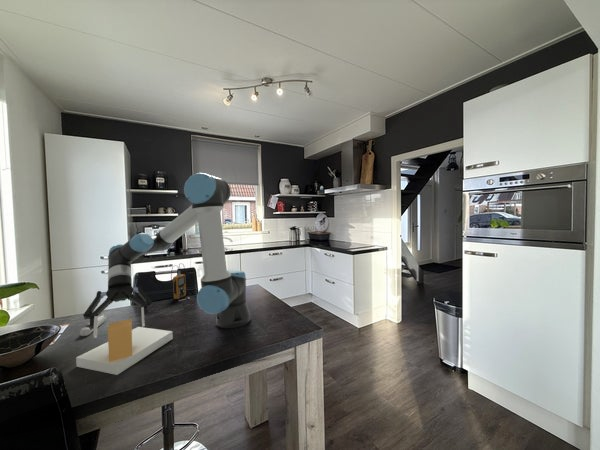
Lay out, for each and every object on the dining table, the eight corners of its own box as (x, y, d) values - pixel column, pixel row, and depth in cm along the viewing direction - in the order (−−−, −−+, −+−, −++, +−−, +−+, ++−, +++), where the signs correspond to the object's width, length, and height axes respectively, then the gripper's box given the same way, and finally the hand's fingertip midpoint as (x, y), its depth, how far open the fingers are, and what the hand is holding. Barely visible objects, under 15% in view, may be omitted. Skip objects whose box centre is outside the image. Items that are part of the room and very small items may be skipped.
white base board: (172, 338, 94) (172, 317, 94) (117, 374, 73) (115, 347, 73) (138, 333, 99) (137, 313, 98) (76, 366, 77) (75, 340, 77)
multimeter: (184, 302, 134) (183, 267, 134) (168, 301, 136) (167, 266, 136) (200, 294, 149) (199, 262, 148) (186, 293, 151) (185, 261, 150)
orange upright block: (132, 347, 83) (131, 318, 83) (132, 355, 78) (131, 325, 78) (110, 352, 80) (109, 323, 79) (109, 361, 75) (107, 330, 74)
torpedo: (90, 336, 97) (90, 321, 97) (76, 338, 96) (75, 322, 95) (110, 318, 114) (110, 305, 114) (98, 320, 113) (98, 306, 113)
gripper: (155, 279, 106) (160, 325, 94) (79, 289, 91) (74, 345, 79) (156, 269, 101) (161, 316, 89) (76, 279, 86) (70, 336, 75)
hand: (120, 330), depth 84 cm, fingers open, 13 cm apart
